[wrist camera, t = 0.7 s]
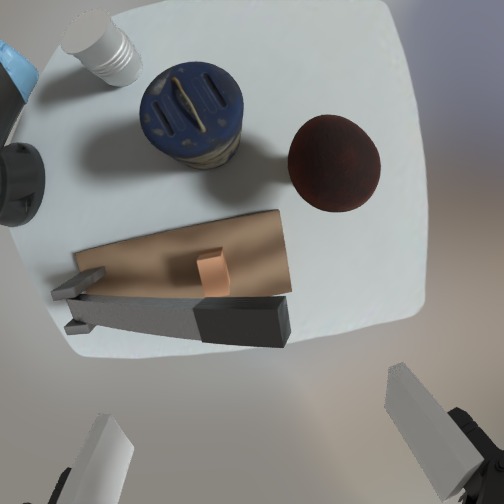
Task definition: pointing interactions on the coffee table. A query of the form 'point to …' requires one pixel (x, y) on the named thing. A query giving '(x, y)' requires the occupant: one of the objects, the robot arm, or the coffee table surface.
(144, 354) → the coffee table surface
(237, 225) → the base
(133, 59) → the white ribbed cylinder
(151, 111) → the canister
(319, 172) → the decorative mushroom
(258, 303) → the lever
